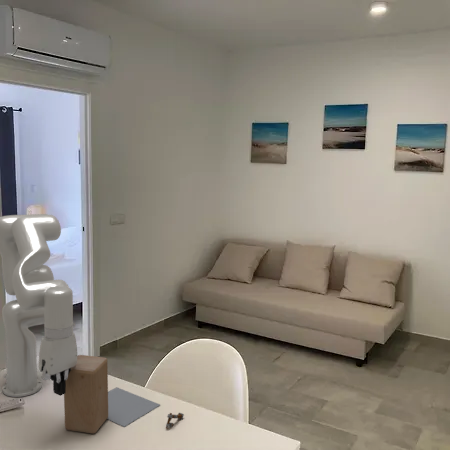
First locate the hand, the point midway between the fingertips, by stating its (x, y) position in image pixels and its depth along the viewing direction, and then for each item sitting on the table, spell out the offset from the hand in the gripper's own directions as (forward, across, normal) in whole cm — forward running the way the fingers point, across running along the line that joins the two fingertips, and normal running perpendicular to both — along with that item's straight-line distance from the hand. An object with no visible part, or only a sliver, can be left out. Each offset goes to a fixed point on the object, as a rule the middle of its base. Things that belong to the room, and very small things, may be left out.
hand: (59, 393), depth 141 cm
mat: (+14, -24, 0) cm, 28 cm away
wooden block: (+14, -10, 0) cm, 17 cm away
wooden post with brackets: (+14, -26, +21) cm, 36 cm away
